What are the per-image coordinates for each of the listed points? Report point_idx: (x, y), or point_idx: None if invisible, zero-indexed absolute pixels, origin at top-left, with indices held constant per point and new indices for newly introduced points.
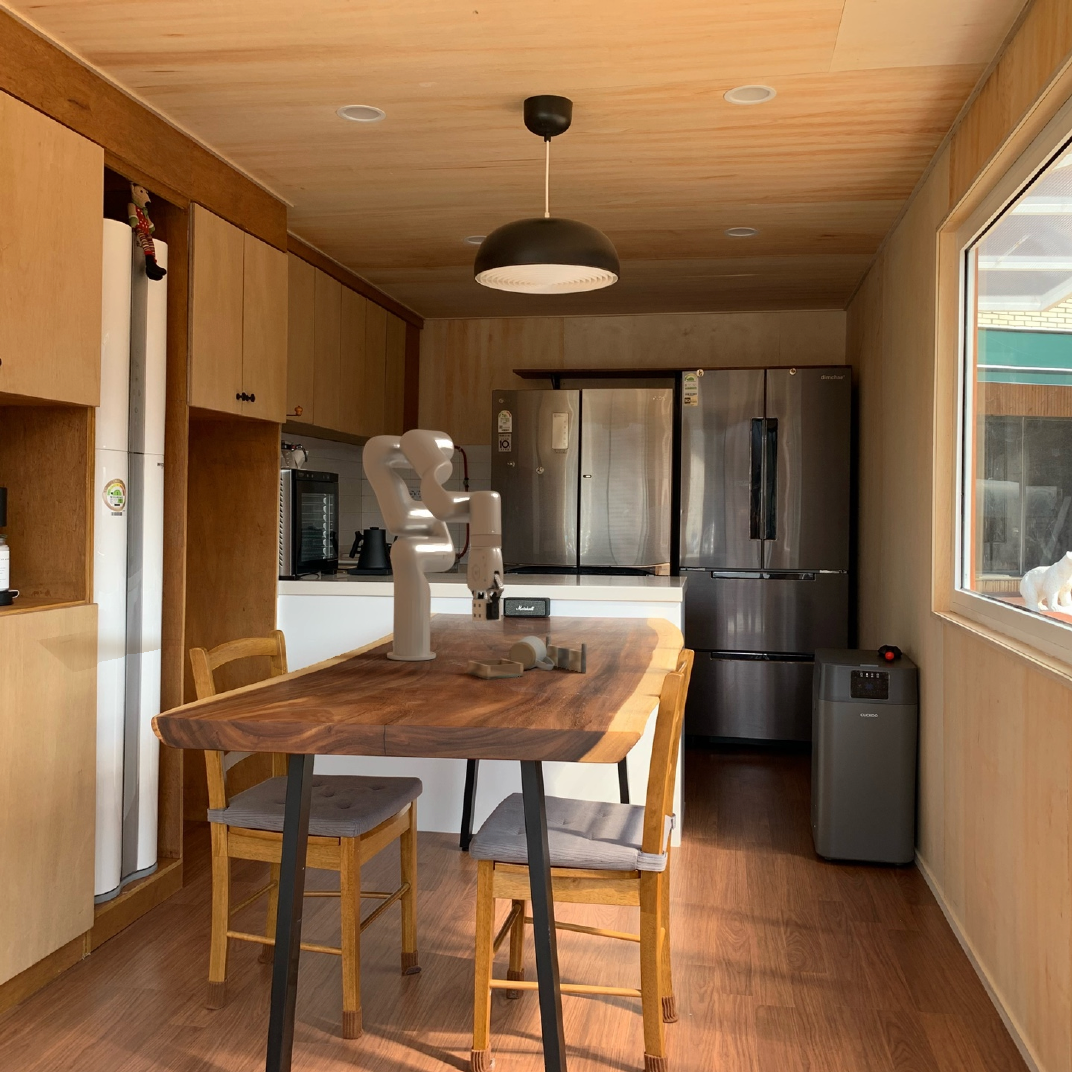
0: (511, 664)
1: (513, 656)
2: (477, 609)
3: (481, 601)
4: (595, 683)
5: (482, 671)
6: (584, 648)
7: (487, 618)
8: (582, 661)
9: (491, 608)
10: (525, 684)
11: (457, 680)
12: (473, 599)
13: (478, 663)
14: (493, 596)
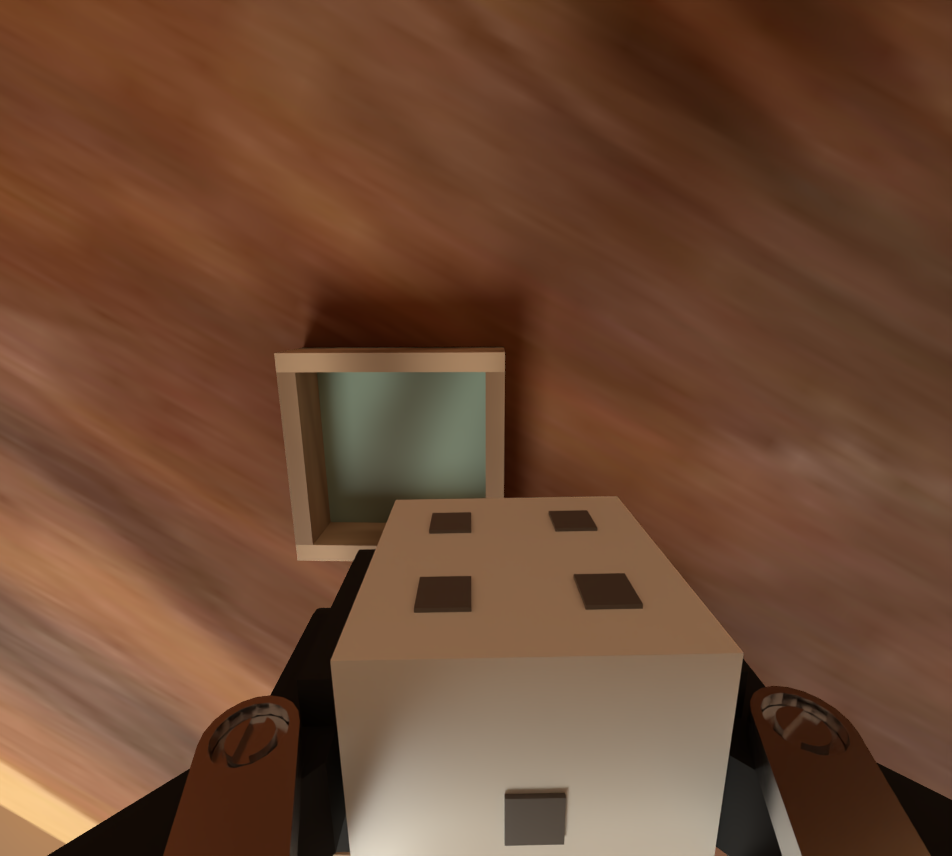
0: (292, 496)
1: None
2: (513, 560)
3: (373, 643)
4: (79, 675)
5: (340, 350)
6: None
7: (358, 551)
8: None
9: (297, 663)
10: (125, 433)
11: (330, 194)
12: (842, 728)
13: (387, 359)
14: (111, 854)
